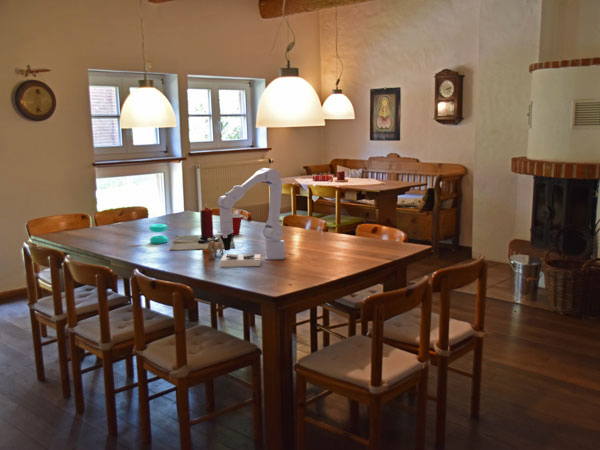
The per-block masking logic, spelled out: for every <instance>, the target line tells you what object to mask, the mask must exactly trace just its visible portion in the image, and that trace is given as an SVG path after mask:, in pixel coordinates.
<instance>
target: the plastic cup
mask: <svg viewBox="0 0 600 450" xmlns="http://www.w3.org/2000/svg"><path fill="white" fill-rule="evenodd" d="M243 217H244V215H243V214H240V213H239V214H238V213H232V223H233V233H231V234H233V236H238V235H240V230H241V225H242V223H241V222H242V220H243Z"/></svg>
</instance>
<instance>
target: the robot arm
mask: <svg viewBox="0 0 600 450" xmlns="http://www.w3.org/2000/svg"><path fill="white" fill-rule="evenodd" d="M280 175H281V174H280V172H278V170H276V168H268V167H261V168H260V169H259V170H257V171H255V173H254V174H253V175H252V176H250V177H249V178H248V179H247V180H246V181H244V183H242V184H241V185H240V184H239V185H238V184H237V185H234V186H233V187H232V189H231V190H229V191H228V192H225V194H224V195H221V196H219V197H218V199H217V202H216V203H217V206H218V207H219V225H220V226H219V227H220V230H218V231H217V233H219V234H220V236H219V237H220V239H221V241H222V243H223V247H224V248H223V250H224V251H231V246H232V245H231V244H232V240H233V239H232V238H233V237H234V235H233V234H231V233H233V223H232V214H233V207H234V206H235V203H236V202H238V201H239V200H240V199H242V198H243V197H244V196H245V194H246V191H248V190H249V189H251V188H252V187H254V186H255V185H257V184H258V183H263V182H264V183H266V184H267V185H268V186H269V188H270V194H269V207H268V217H267V220H266V222H265V225H264V227H263V230H262V233H263V236H264V237H265V257H264V259H265V261H266V260H285V256H286V250H285V248H286V247H285V239H282V237H283V235H284V234H283V229H282V228H283V226H282V223H281V222H280V217H281V205H282V193H283V182H282V180H281V178H280Z"/></svg>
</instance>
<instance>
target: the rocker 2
mask: <svg viewBox="0 0 600 450" xmlns="http://www.w3.org/2000/svg"><path fill="white" fill-rule="evenodd" d="M243 255H244V256H243V258H244V259H245V258H248V259H250V258H251V257H254V256H255V253H254V252H253V253H247V254H243Z"/></svg>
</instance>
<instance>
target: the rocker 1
mask: <svg viewBox="0 0 600 450" xmlns="http://www.w3.org/2000/svg"><path fill="white" fill-rule="evenodd" d="M226 255H227V256H226V258H231V259H233V258H234V259H237V258H238V255H239V254H231V253H227V254H226Z"/></svg>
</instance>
